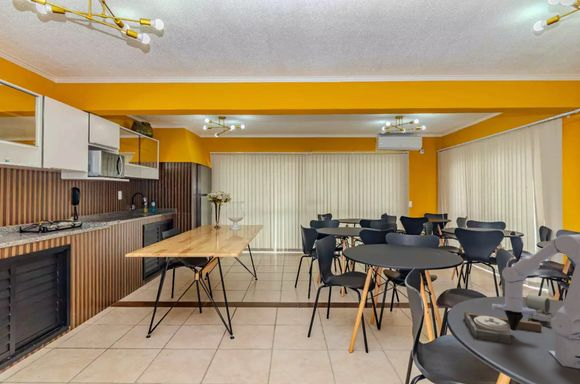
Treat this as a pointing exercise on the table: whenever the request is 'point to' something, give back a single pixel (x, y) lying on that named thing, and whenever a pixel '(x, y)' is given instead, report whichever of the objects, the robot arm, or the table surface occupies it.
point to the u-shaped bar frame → (497, 335)
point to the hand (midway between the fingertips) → (513, 329)
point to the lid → (492, 324)
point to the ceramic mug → (538, 303)
